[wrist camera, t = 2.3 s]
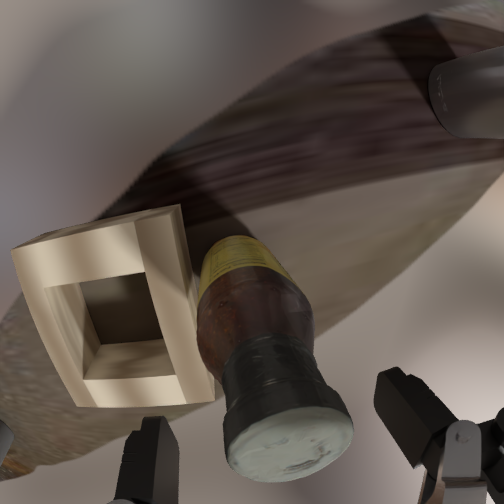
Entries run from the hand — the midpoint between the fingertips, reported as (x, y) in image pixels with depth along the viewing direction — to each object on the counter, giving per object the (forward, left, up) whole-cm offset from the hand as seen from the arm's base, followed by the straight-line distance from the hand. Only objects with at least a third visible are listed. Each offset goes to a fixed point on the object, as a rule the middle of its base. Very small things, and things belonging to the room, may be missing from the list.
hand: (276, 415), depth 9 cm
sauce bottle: (0, 0, -18) cm, 18 cm away
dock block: (+11, +2, -18) cm, 21 cm away
